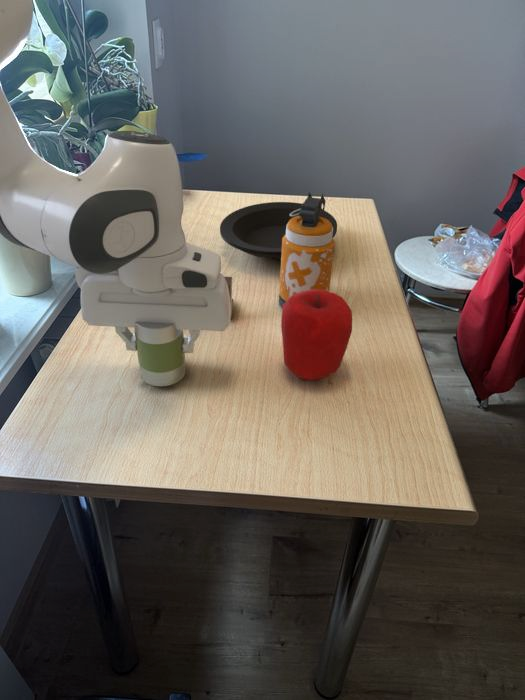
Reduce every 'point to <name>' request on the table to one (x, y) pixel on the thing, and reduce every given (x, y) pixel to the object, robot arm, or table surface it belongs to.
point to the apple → (315, 333)
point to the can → (160, 353)
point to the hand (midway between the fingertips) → (161, 349)
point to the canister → (306, 251)
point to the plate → (262, 227)
